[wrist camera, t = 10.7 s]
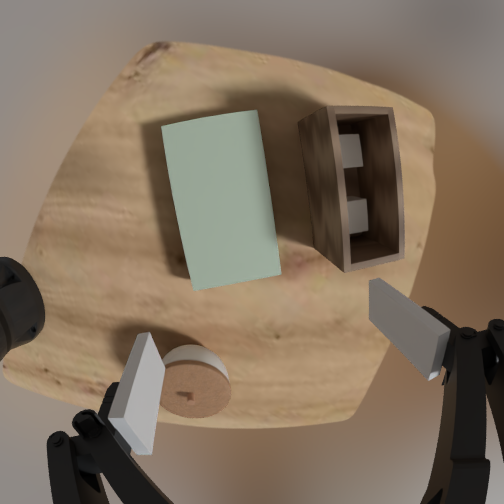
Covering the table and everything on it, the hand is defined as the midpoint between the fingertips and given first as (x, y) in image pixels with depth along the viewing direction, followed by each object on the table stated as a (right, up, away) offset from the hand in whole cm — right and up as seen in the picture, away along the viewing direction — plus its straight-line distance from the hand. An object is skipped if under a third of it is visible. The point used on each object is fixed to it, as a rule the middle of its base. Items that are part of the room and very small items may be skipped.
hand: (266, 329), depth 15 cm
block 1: (+10, +17, +18) cm, 27 cm away
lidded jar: (-10, -12, +26) cm, 30 cm away
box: (+10, +14, +20) cm, 27 cm away
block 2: (+11, +10, +21) cm, 25 cm away
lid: (-4, +11, +19) cm, 22 cm away
